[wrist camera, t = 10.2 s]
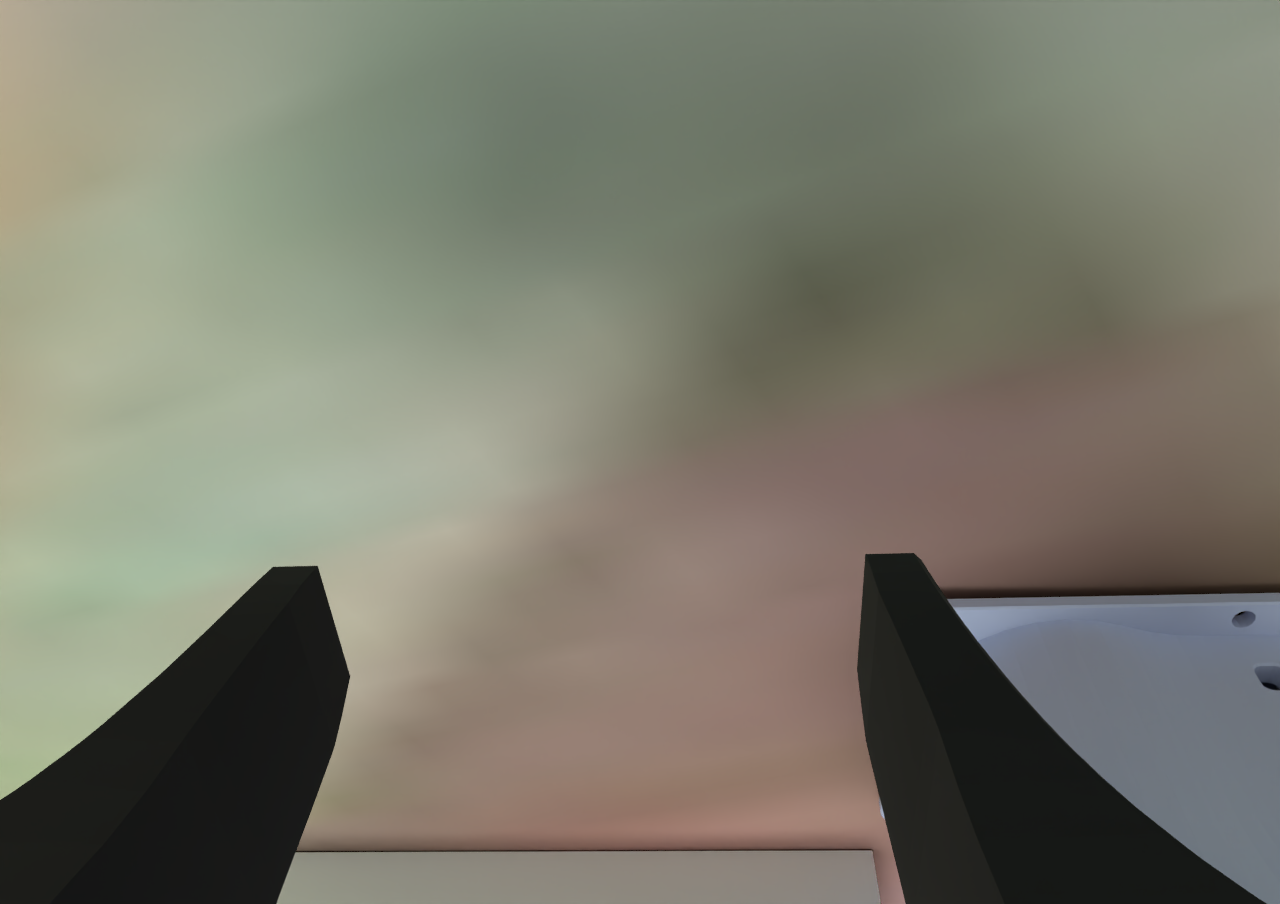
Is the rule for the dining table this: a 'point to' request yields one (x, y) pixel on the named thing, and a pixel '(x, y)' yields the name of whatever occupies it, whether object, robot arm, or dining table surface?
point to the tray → (582, 877)
